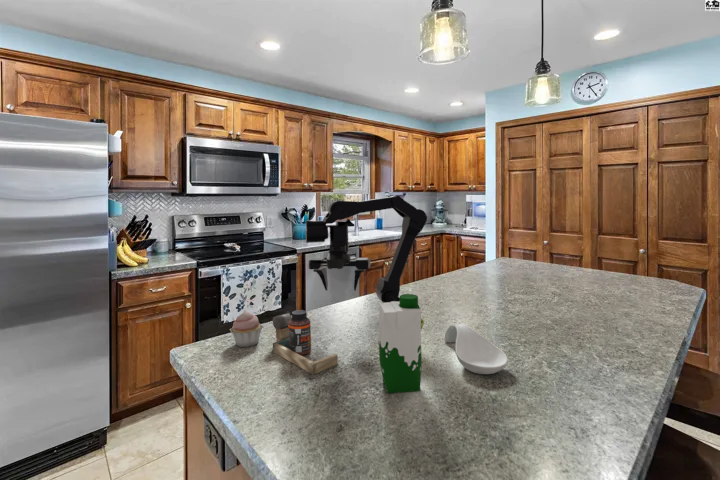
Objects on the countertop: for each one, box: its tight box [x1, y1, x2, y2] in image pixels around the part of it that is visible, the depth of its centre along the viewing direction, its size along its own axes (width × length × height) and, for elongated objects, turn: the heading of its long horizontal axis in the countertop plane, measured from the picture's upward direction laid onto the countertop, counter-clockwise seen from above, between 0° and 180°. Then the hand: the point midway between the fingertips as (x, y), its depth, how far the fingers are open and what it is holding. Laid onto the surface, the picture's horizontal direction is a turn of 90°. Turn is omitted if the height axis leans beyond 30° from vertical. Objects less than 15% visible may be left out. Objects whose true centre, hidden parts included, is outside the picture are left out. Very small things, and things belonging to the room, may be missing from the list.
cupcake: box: [229, 309, 264, 348], centre depth 108 cm, size 9×9×10 cm
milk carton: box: [378, 293, 422, 394], centre depth 81 cm, size 9×9×20 cm
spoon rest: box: [443, 323, 509, 375], centre depth 94 cm, size 24×12×7 cm, turn 10°
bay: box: [272, 338, 339, 375], centre depth 97 cm, size 19×8×2 cm, turn 42°
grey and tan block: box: [272, 311, 292, 342], centre depth 107 cm, size 4×5×9 cm
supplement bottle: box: [288, 309, 312, 356], centre depth 101 cm, size 6×6×11 cm
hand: (340, 290), depth 116 cm, fingers open, 9 cm apart
